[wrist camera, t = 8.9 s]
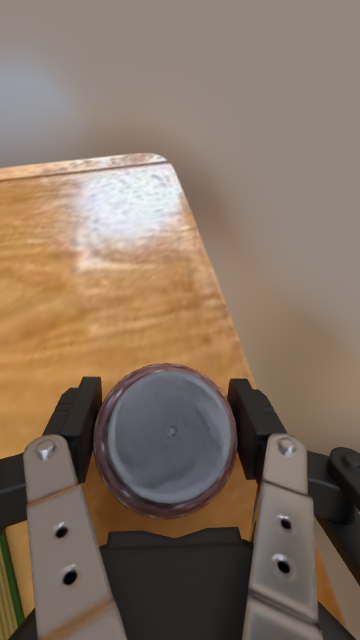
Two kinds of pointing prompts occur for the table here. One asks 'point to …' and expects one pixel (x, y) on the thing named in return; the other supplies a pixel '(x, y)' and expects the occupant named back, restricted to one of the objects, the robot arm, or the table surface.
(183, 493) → the supplement bottle
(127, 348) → the table surface
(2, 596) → the hardcover book
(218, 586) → the robot arm
